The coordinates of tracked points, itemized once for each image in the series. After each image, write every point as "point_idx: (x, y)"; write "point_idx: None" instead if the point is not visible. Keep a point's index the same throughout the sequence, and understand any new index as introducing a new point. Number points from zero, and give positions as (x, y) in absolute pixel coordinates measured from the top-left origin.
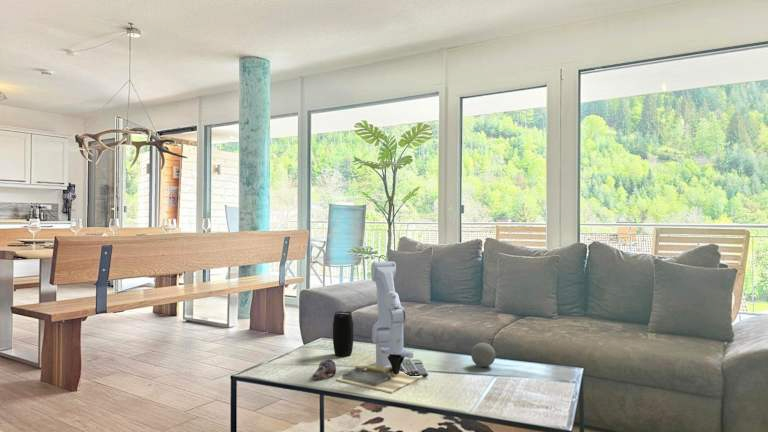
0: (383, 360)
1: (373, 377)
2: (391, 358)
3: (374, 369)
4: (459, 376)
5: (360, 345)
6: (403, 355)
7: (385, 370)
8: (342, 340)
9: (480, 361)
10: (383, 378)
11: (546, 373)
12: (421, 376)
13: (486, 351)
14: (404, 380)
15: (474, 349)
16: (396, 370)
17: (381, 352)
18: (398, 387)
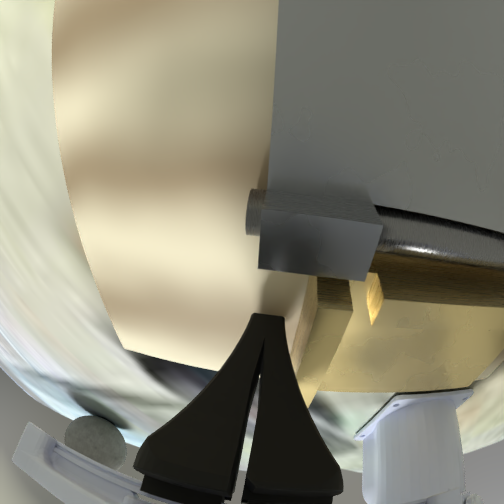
0: (421, 429)
1: (441, 91)
2: (259, 475)
3: (483, 300)
4: (66, 365)
5: (483, 443)
6: (115, 484)
7: (383, 347)
8: None
9: (81, 424)
10: (291, 99)
11: (24, 382)
12: (122, 340)
13: (66, 444)
14: (132, 238)
15: (93, 459)
16: (238, 342)
17: (441, 502)
18: (61, 50)
